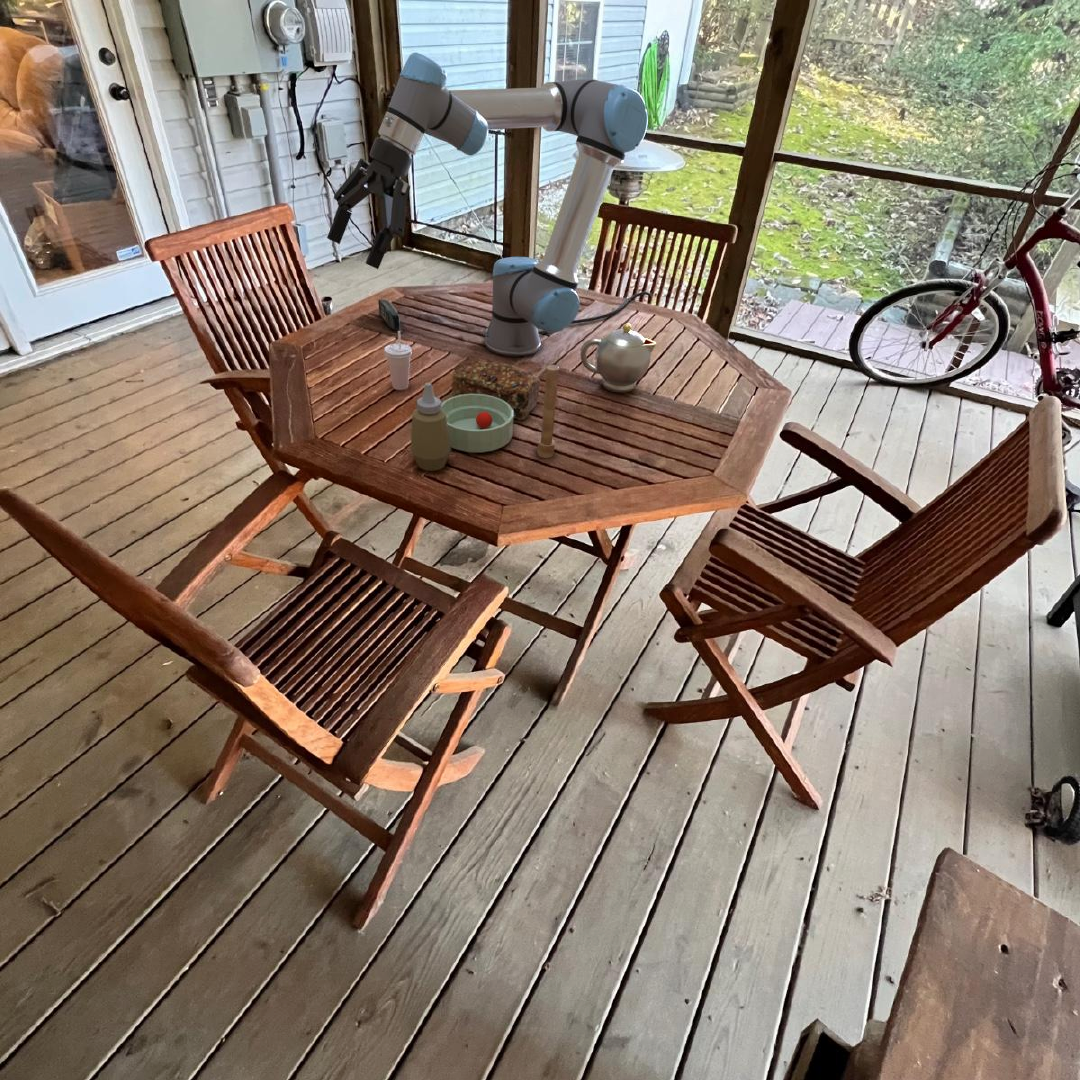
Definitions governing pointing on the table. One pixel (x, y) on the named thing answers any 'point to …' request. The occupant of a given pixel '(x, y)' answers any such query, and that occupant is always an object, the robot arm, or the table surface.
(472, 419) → the bowl
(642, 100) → the robot arm
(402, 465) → the table surface
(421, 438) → the squeeze bottle
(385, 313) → the dark grey tapered piece
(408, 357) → the smoothie
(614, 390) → the teapot
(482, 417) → the cherry tomato
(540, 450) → the muddler
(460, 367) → the bread
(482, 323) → the table surface
